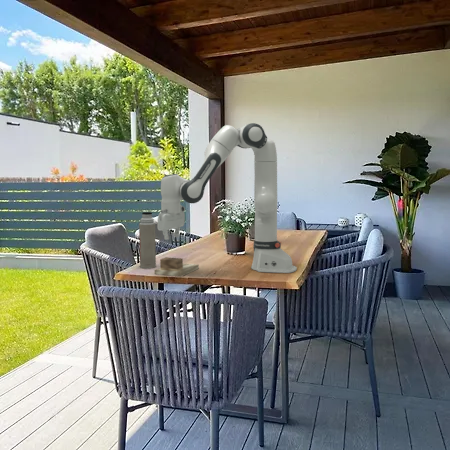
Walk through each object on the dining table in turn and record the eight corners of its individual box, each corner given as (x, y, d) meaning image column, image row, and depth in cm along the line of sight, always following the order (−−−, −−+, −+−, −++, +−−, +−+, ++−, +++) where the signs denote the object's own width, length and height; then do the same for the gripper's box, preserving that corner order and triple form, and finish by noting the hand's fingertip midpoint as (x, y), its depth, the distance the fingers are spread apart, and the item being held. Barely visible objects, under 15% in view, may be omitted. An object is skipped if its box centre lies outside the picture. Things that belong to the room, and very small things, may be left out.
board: (198, 268, 226) (198, 264, 225) (181, 276, 208) (180, 272, 208) (173, 266, 231) (173, 262, 231) (154, 274, 213) (154, 269, 213)
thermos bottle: (138, 268, 226) (137, 212, 223) (141, 265, 234) (140, 211, 231) (154, 268, 226) (153, 212, 223) (157, 265, 234) (156, 211, 231)
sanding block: (182, 268, 215) (182, 258, 215) (177, 271, 210) (177, 260, 209) (166, 267, 218) (166, 257, 218) (160, 269, 213) (160, 259, 213)
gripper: (165, 210, 200) (166, 241, 202) (186, 207, 219) (187, 235, 221) (153, 210, 203) (154, 241, 204) (175, 207, 222) (175, 235, 223)
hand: (171, 238), depth 213 cm, fingers open, 8 cm apart
